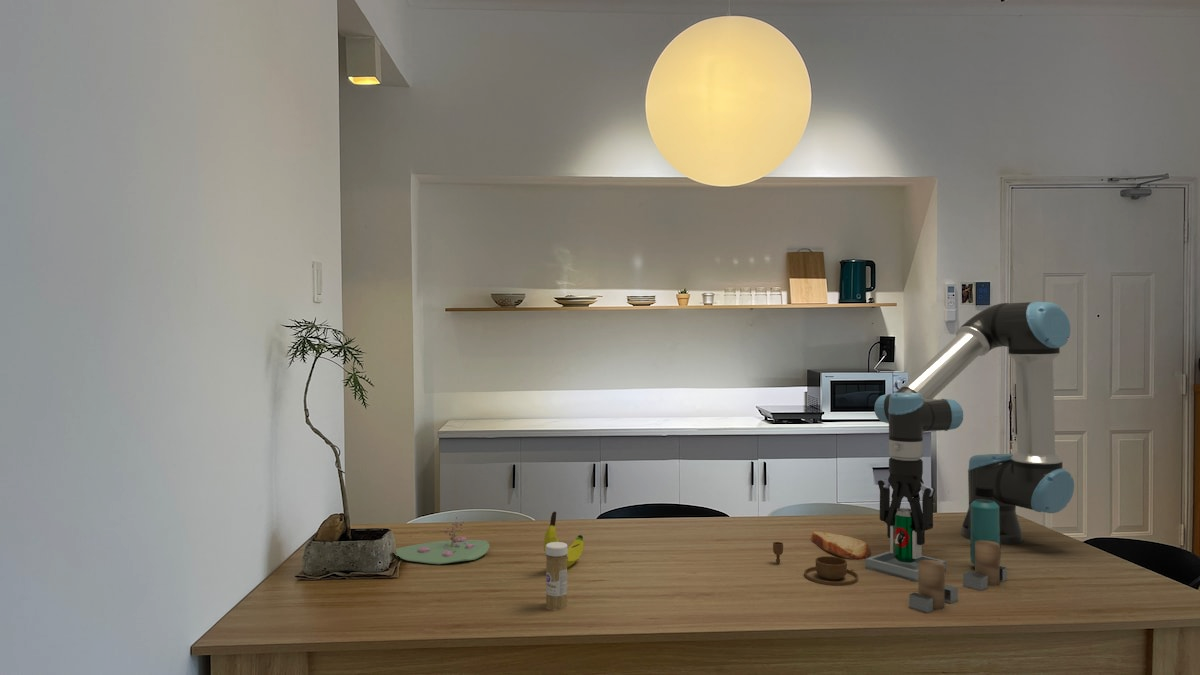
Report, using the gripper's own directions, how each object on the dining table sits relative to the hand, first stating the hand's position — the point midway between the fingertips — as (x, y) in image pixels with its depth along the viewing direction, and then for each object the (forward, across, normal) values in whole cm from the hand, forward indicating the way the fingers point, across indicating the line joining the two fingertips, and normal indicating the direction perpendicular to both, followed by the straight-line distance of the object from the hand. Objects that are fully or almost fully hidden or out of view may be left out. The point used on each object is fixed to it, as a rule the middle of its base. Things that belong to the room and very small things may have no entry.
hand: (905, 554), depth 184 cm
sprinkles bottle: (+4, -30, -80) cm, 86 cm away
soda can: (+1, 0, 0) cm, 1 cm away
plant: (+4, -84, -80) cm, 116 cm away
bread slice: (+4, -21, +3) cm, 22 cm away
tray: (+4, 0, 0) cm, 4 cm away
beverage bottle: (+4, +12, +15) cm, 19 cm away
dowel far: (+4, +16, +6) cm, 18 cm away
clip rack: (+4, +16, -6) cm, 18 cm away
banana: (+4, -52, -63) cm, 82 cm away
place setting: (+5, -11, -18) cm, 21 cm away
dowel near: (+4, +16, -18) cm, 25 cm away
